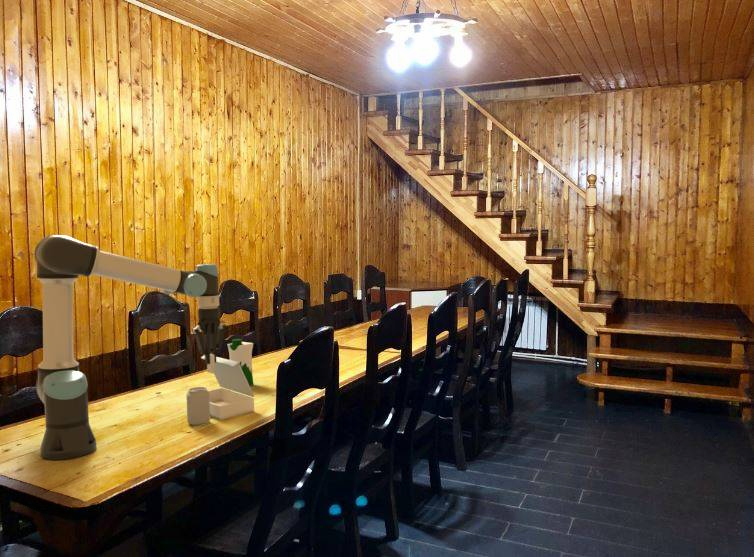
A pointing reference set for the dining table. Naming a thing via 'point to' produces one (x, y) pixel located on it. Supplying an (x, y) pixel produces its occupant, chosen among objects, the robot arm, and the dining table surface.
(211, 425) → the dining table surface
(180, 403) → the dining table surface
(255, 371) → the dining table surface
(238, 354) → the milk carton
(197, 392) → the can
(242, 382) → the lid
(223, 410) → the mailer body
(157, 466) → the dining table surface
